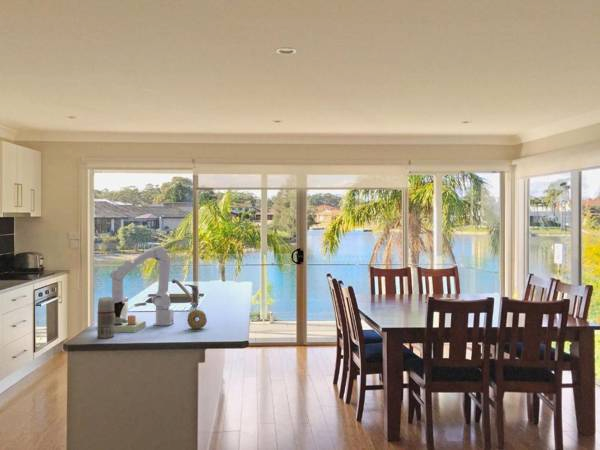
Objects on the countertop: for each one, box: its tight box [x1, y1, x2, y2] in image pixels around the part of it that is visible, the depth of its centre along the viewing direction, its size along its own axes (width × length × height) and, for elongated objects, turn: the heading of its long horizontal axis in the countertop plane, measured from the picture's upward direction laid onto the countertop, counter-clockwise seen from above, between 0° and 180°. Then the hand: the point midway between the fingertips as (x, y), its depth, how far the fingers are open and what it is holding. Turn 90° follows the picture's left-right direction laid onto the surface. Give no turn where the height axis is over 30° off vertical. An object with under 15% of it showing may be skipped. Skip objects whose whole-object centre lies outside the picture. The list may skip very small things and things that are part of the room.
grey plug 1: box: [114, 316, 122, 326], centre depth 291 cm, size 4×4×4 cm
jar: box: [110, 295, 129, 318], centre depth 310 cm, size 11×10×15 cm
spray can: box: [96, 296, 115, 339], centre depth 275 cm, size 8×8×20 cm
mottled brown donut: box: [187, 309, 208, 330], centre depth 295 cm, size 10×4×10 cm, turn 87°
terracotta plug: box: [127, 314, 137, 325], centre depth 292 cm, size 4×4×4 cm
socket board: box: [114, 320, 147, 333], centre depth 294 cm, size 15×15×3 cm
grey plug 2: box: [122, 317, 128, 323], centre depth 299 cm, size 4×4×4 cm
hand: (117, 316), depth 291 cm, fingers closed, pressing on grey plug 1
